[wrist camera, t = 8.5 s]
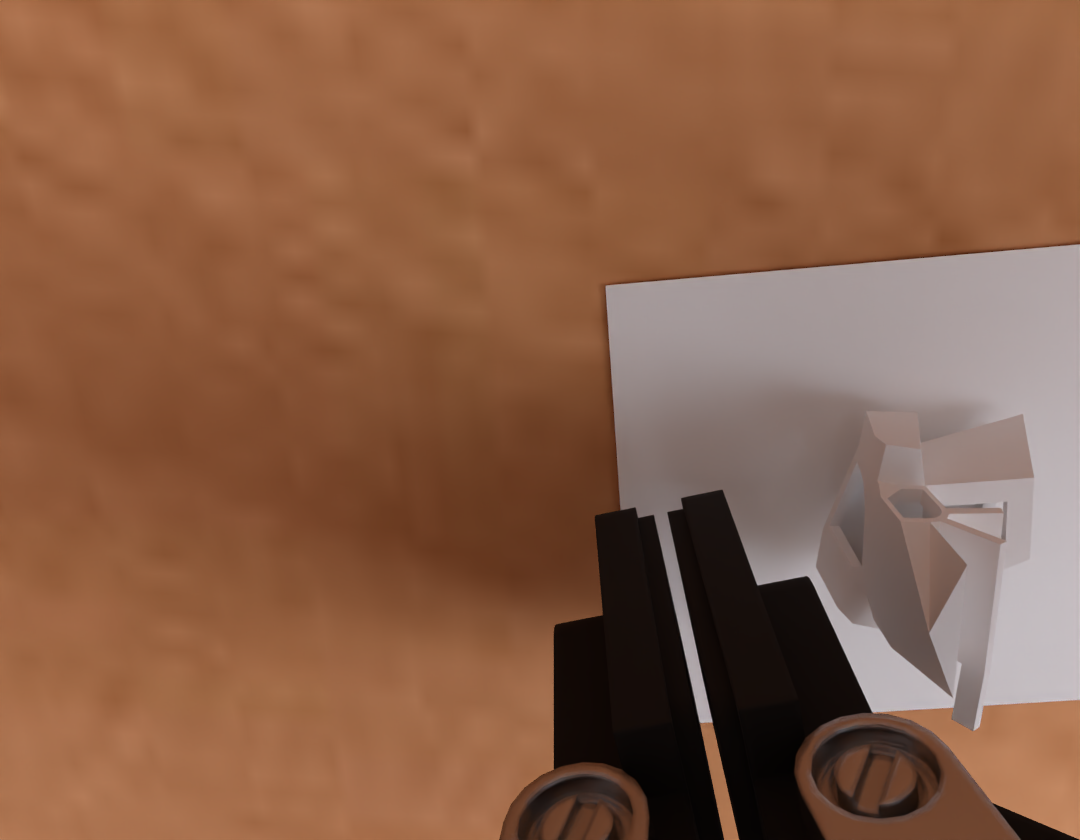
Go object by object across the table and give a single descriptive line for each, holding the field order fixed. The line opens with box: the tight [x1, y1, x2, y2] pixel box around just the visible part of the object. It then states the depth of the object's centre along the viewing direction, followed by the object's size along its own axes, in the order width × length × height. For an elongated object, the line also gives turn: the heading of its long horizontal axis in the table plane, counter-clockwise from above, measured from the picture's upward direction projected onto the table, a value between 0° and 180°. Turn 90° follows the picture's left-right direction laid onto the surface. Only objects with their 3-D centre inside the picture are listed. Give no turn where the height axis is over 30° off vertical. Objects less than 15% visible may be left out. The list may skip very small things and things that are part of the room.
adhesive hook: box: [815, 410, 1035, 731], centre depth 11 cm, size 3×3×3 cm
